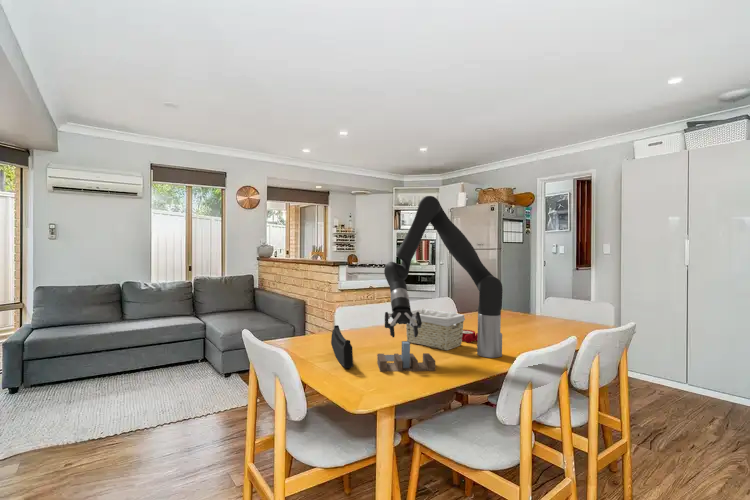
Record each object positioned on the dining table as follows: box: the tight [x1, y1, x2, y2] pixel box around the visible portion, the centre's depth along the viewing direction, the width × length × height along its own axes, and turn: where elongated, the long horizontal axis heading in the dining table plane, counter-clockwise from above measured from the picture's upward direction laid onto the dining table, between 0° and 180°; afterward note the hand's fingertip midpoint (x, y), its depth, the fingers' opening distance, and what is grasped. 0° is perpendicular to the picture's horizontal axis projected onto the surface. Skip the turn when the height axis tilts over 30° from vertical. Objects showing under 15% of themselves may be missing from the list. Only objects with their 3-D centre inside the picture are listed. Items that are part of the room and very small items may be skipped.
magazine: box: [330, 324, 354, 369], centre depth 154 cm, size 17×3×30 cm
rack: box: [376, 352, 436, 373], centre depth 145 cm, size 20×10×4 cm, turn 95°
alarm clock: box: [462, 329, 478, 343], centre depth 192 cm, size 10×6×15 cm
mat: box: [384, 354, 401, 362], centre depth 157 cm, size 10×9×1 cm
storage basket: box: [405, 308, 466, 351], centre depth 182 cm, size 24×16×15 cm
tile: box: [400, 340, 411, 368], centre depth 145 cm, size 2×4×9 cm, turn 7°
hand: (404, 336), depth 149 cm, fingers open, 8 cm apart
